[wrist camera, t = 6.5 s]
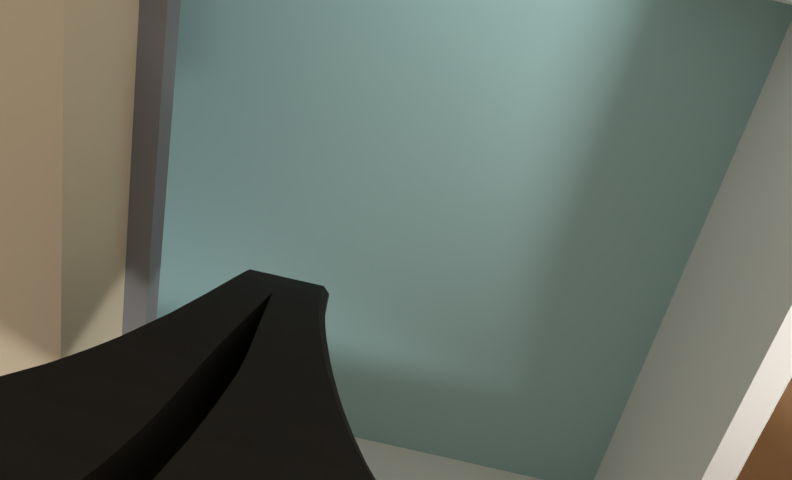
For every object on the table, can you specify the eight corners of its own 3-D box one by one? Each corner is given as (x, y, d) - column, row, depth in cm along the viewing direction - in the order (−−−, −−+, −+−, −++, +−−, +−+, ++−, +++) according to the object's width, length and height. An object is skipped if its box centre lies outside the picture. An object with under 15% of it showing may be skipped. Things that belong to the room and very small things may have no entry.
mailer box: (598, 489, 20) (640, 656, 15) (-17, 350, 19) (-162, 475, 15) (821, -21, 14) (998, -4, 9) (-43, -221, 14) (-291, -303, 9)
